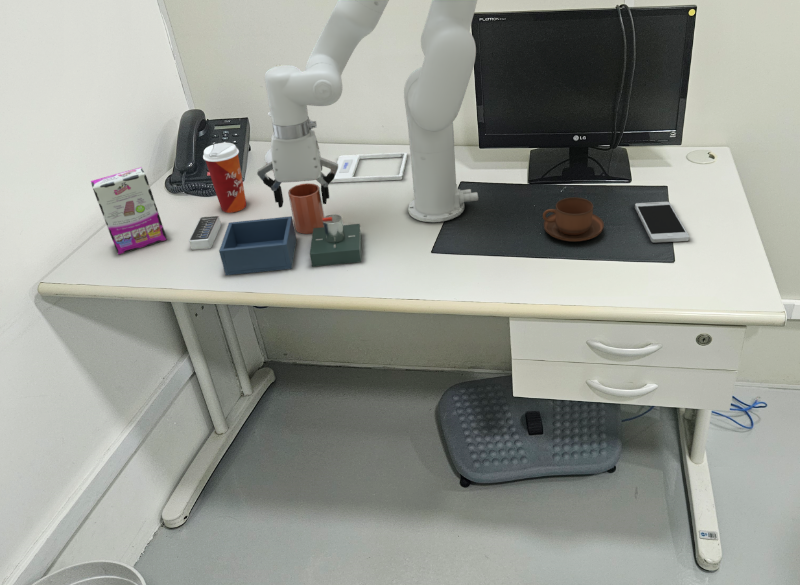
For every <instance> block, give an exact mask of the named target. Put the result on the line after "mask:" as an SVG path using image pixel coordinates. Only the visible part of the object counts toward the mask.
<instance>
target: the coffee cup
mask: <svg viewBox="0 0 800 585" xmlns="http://www.w3.org/2000/svg"><path fill="white" fill-rule="evenodd" d="M239 153H240V150H239V148H238V147H237V146H236V144H234V143H232V142H219V143H215V144H211V145H209V146H207V147H205V149H204V150H203V155H202V158H203V160H204V161H205V163H206V166H207V170H208V173H209V176H210V179H211V182H212V186H213V187H214V191H215V194H216V197H217V200H218V203H219V206H220V208H221V211H222V212H224V213H229V214H230V213H238V212H240V211H243V210H244V209H245V208H246V207H247V200H246V199H247V198H246V194H245V187H244V182H243V175H242V169H241V165H240V158H239Z"/></svg>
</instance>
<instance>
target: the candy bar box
mask: <svg viewBox="0 0 800 585" xmlns="http://www.w3.org/2000/svg"><path fill="white" fill-rule="evenodd" d="M90 184H91V187H92V190H93V193H94V196H95V199H96V201H97V203H98V206H99V209H100V211H101V214H102V216H103V219H104V222H105V225H106V228H107V230H108V233H109V235H110V238H111V241H112V243H113V245H114V249H115V251H116V254H117V255H123V254H125V253H129V252H132V251H136V250H139V249H142V248H145V247H148V246H151V245H155V244H158V243H162V242H164V241H167V240H168V238H167V234H166V232H165V229H164V228H165V227H164V225H163V223H162V219H161V217H160V213H159V210H158V207H157V205H156V201H155V198H154V195H153V192H152V189H151V186H150V183H149V179H148V177H147V173H145V171H144V169H143V167H142V166H140V167H137V168H133V169H130V170H126V171H122V172H118V173H115V174H112V175H111V174H110V175H107V176H104V177H100V178H97V179H94V180H93V179H92V180H90Z"/></svg>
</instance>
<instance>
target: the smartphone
mask: <svg viewBox="0 0 800 585" xmlns="http://www.w3.org/2000/svg"><path fill="white" fill-rule="evenodd" d="M634 209H635V211H636V213H637V215H638V218H639V219H640V221H641V224H642V225H643V227H644V229H645V231H646V233H647V236H648V237H649V240H650V242H651V243H655V244H656V243H672V242H688V241H689V240H690V235H689V233H688V232H687V230H686V228H685V227H684V224H683V223H682V221H681V219H680V218H679V215H678V214H677V213H676V211H675V210H674V207H673V206H672V203H670V201H656V202H636V203H635V204H634Z"/></svg>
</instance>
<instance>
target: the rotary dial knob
mask: <svg viewBox="0 0 800 585" xmlns="http://www.w3.org/2000/svg"><path fill="white" fill-rule="evenodd" d="M343 225H344V221H343V217H342V215H340V214H328V215H326V216H325V217H324V218H323V226H324V232H325V237H326V241H327V242H330V243H337V242H340V241H342V240H344V238H345V234H344V227H343Z"/></svg>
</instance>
